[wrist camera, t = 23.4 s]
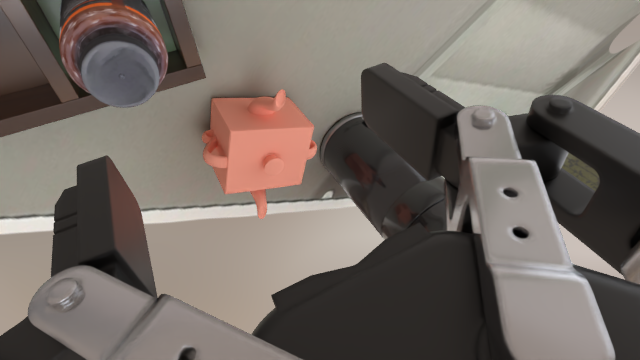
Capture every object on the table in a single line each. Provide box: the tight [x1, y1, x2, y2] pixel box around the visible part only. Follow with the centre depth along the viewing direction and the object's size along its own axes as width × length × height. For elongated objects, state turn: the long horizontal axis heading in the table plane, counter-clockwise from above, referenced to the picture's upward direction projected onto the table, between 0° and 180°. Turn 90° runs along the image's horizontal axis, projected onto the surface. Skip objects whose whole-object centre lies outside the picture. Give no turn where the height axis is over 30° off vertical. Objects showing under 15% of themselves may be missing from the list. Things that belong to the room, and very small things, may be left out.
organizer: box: [0, 0, 206, 137], centre depth 26 cm, size 10×20×5 cm, turn 95°
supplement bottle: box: [59, 0, 168, 107], centre depth 25 cm, size 6×6×11 cm
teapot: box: [202, 90, 317, 219], centre depth 38 cm, size 12×15×8 cm
